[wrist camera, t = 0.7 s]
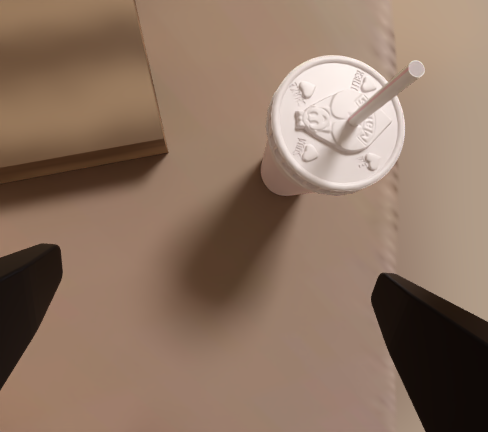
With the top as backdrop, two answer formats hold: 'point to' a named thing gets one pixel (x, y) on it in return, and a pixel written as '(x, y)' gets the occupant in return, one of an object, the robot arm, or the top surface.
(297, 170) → the smoothie
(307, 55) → the top surface
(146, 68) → the walnut plinth
